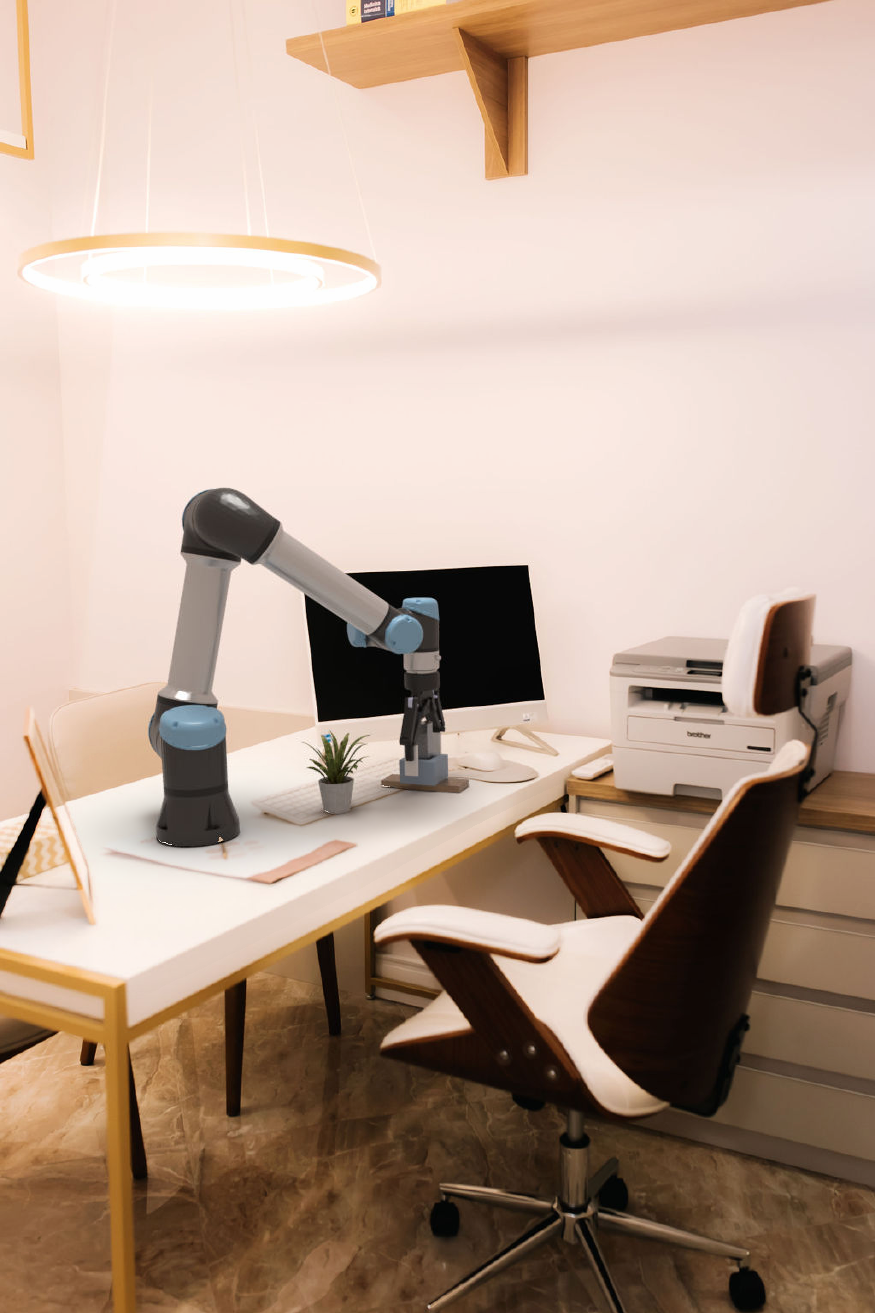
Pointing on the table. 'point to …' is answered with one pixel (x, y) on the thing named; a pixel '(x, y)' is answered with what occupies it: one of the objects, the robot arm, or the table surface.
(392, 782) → the keyed post
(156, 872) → the table surface
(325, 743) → the house plant
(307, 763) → the table surface
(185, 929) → the table surface
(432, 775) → the blue-grey hollow block
